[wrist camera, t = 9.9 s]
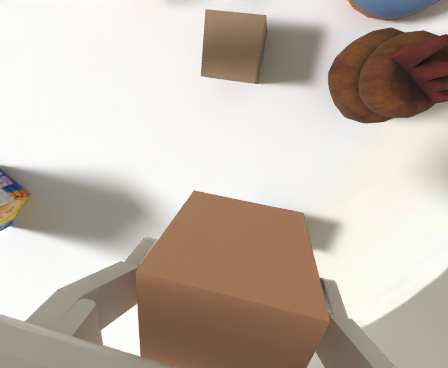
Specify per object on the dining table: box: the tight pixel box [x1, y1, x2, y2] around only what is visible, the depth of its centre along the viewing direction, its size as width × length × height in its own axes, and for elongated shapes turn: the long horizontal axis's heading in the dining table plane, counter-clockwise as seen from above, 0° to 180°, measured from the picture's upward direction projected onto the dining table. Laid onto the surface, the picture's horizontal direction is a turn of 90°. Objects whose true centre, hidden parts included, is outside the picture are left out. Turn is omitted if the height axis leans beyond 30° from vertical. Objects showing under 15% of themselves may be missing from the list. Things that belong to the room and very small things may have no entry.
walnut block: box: [201, 10, 267, 84], centre depth 21 cm, size 5×5×5 cm
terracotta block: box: [136, 191, 330, 368], centre depth 9 cm, size 5×5×5 cm
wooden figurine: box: [328, 28, 448, 123], centre depth 16 cm, size 7×6×15 cm
